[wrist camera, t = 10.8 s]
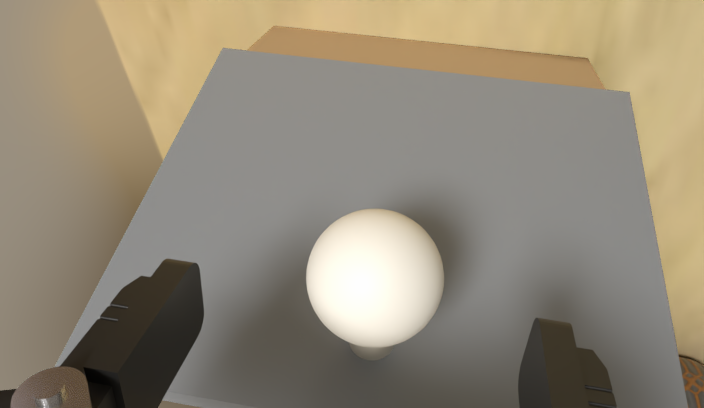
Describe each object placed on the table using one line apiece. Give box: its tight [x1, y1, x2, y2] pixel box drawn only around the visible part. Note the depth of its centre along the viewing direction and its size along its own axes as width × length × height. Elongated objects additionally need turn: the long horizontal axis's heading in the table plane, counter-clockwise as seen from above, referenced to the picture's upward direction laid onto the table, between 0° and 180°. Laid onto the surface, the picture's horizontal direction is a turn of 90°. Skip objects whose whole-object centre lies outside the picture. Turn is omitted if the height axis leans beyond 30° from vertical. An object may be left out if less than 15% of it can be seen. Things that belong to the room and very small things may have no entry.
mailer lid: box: [55, 48, 688, 408], centre depth 22 cm, size 21×18×7 cm
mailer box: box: [247, 26, 606, 90], centre depth 38 cm, size 20×16×8 cm
